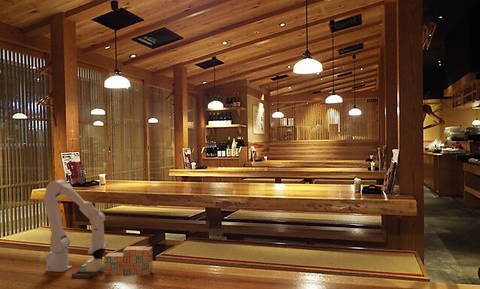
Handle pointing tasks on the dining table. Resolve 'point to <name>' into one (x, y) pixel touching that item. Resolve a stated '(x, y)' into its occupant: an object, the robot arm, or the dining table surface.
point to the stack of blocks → (129, 262)
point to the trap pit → (84, 274)
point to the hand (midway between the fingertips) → (98, 264)
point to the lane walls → (85, 268)
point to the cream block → (93, 265)
